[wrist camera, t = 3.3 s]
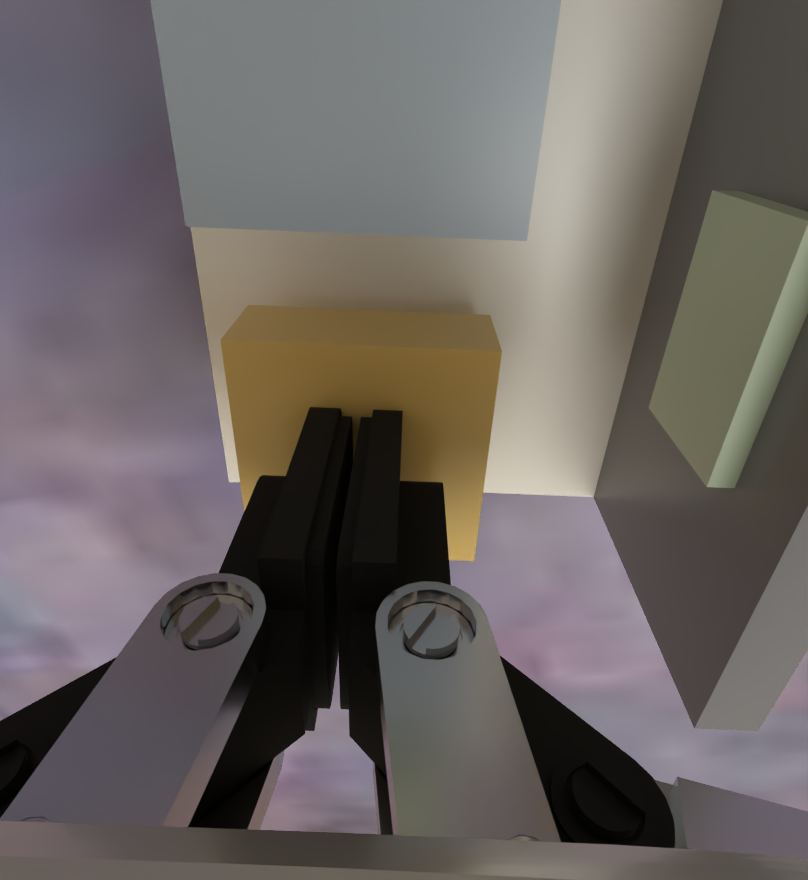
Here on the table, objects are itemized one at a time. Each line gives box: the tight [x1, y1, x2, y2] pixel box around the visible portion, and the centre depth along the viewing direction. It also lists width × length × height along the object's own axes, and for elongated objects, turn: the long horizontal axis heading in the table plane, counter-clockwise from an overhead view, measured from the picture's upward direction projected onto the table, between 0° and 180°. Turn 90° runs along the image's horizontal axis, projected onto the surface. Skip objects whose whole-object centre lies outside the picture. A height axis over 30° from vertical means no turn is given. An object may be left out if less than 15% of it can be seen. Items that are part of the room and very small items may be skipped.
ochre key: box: [220, 305, 502, 561], centre depth 11 cm, size 5×5×2 cm
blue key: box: [150, 0, 561, 241], centre depth 7 cm, size 5×5×2 cm
